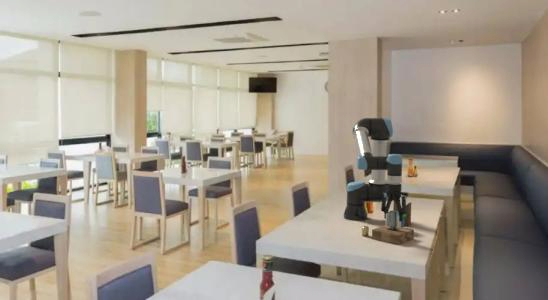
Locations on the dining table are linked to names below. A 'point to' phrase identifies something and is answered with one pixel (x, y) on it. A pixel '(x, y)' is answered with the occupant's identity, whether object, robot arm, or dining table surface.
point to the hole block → (393, 234)
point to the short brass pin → (365, 231)
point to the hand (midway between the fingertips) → (393, 226)
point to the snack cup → (397, 217)
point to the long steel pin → (393, 220)
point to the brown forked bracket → (408, 213)
